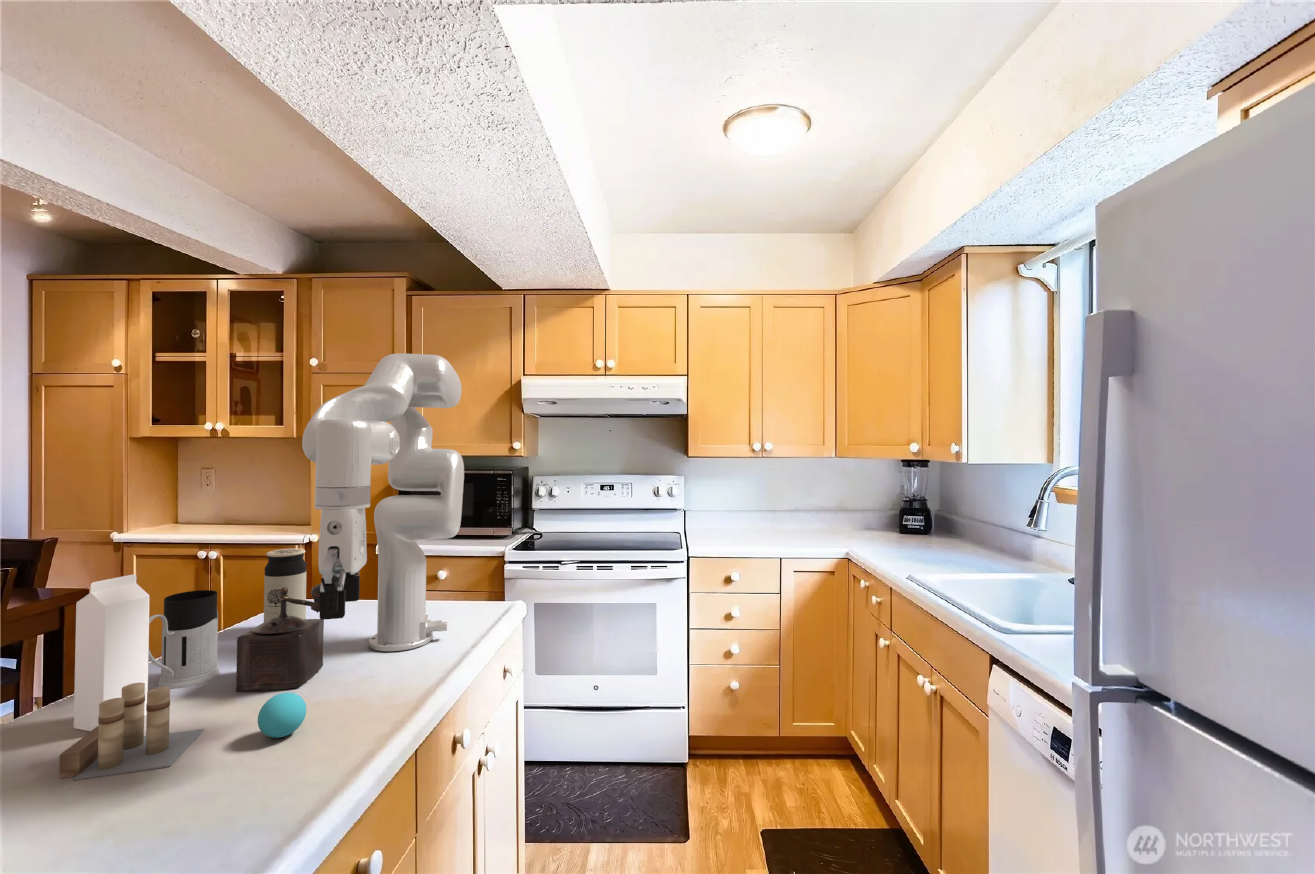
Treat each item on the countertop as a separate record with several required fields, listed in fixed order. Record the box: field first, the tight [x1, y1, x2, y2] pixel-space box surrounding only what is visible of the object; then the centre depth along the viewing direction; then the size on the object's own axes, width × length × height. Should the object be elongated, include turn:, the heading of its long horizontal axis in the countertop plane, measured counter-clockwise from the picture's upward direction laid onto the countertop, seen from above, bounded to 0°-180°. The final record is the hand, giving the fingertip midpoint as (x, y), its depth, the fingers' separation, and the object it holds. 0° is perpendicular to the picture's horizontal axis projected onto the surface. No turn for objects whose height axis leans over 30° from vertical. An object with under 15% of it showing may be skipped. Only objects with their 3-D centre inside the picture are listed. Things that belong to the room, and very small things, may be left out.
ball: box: [257, 692, 307, 739], centre depth 83 cm, size 6×6×6 cm
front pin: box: [145, 686, 171, 755], centre depth 78 cm, size 2×2×8 cm
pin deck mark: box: [73, 728, 205, 781], centre depth 78 cm, size 10×10×1 cm
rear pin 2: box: [122, 683, 145, 750], centre depth 80 cm, size 2×2×8 cm
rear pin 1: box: [98, 698, 124, 770], centre depth 75 cm, size 2×2×8 cm
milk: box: [73, 573, 150, 732], centre depth 87 cm, size 6×6×22 cm
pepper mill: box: [235, 583, 325, 693], centre depth 103 cm, size 16×11×18 cm
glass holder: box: [148, 589, 221, 690], centre depth 100 cm, size 9×14×15 cm, turn 2°
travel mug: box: [263, 548, 307, 623], centre depth 128 cm, size 8×8×18 cm
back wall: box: [58, 725, 99, 779], centre depth 77 cm, size 2×9×3 cm, turn 18°
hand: (340, 609), depth 87 cm, fingers open, 9 cm apart
